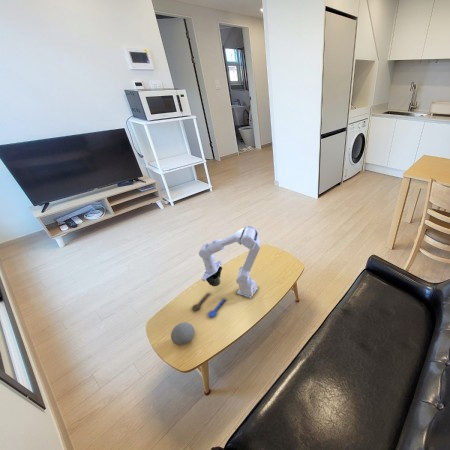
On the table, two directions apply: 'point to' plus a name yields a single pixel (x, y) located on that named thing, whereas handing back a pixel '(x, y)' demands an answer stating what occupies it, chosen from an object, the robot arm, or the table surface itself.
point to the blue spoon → (215, 309)
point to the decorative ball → (182, 333)
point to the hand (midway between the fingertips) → (215, 281)
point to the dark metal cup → (216, 279)
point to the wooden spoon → (199, 303)
